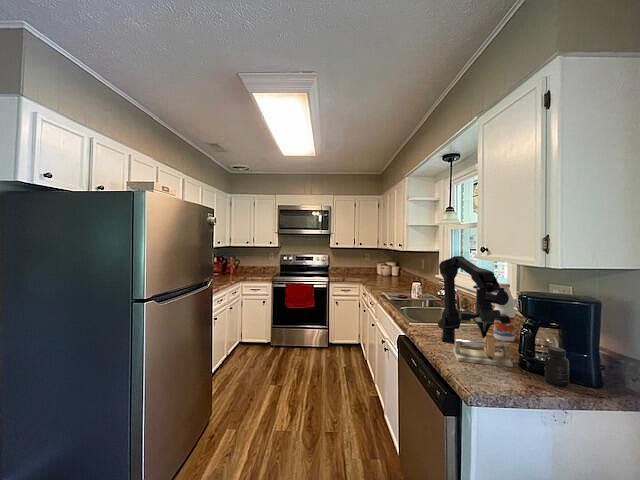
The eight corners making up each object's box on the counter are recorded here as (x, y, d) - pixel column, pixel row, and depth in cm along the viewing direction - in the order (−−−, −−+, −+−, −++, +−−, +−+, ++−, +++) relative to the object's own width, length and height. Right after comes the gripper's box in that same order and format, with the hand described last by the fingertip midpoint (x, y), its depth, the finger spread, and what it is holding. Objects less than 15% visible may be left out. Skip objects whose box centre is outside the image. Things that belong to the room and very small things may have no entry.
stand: (457, 361, 127) (457, 344, 127) (453, 351, 139) (453, 335, 139) (512, 366, 122) (512, 349, 122) (503, 356, 134) (503, 339, 134)
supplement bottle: (539, 379, 111) (539, 345, 111) (557, 378, 112) (557, 345, 112) (555, 388, 104) (555, 352, 104) (574, 387, 105) (574, 352, 105)
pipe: (455, 346, 132) (456, 339, 132) (454, 344, 135) (455, 337, 135) (508, 351, 127) (508, 344, 127) (506, 348, 129) (506, 342, 129)
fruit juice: (513, 337, 161) (514, 283, 161) (516, 342, 152) (516, 285, 152) (493, 335, 165) (493, 282, 165) (494, 340, 156) (494, 284, 157)
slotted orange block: (488, 356, 127) (488, 337, 127) (484, 350, 133) (484, 332, 134) (494, 356, 126) (494, 337, 126) (490, 350, 133) (490, 333, 133)
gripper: (463, 302, 125) (462, 341, 125) (515, 305, 120) (515, 346, 120) (458, 298, 136) (458, 333, 136) (506, 300, 131) (506, 337, 131)
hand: (483, 337), depth 130 cm, fingers closed
